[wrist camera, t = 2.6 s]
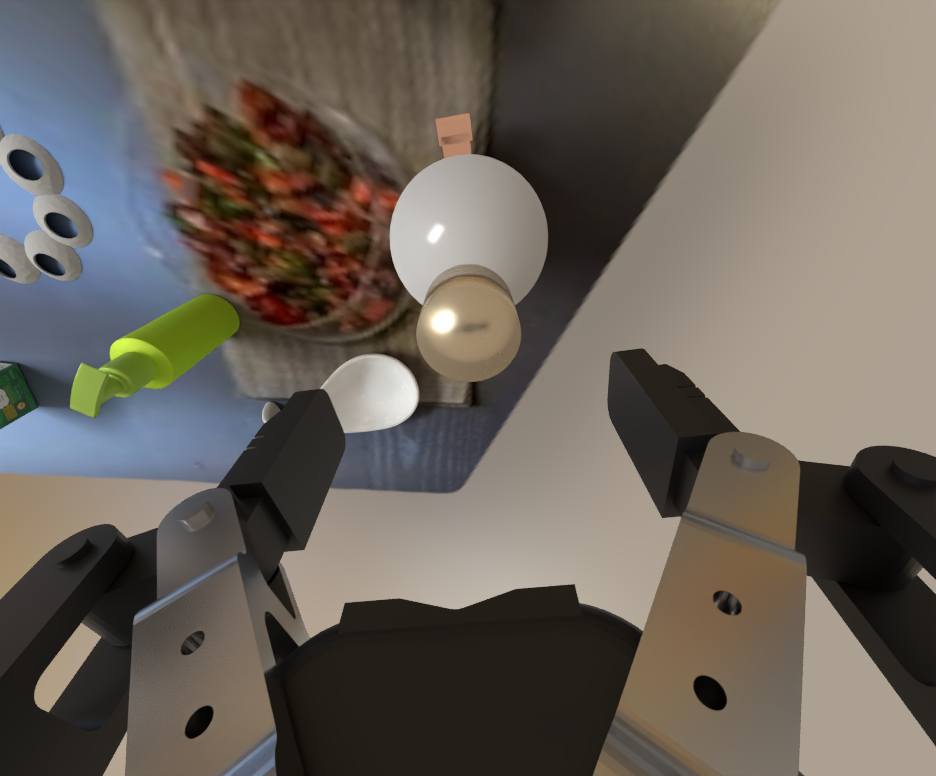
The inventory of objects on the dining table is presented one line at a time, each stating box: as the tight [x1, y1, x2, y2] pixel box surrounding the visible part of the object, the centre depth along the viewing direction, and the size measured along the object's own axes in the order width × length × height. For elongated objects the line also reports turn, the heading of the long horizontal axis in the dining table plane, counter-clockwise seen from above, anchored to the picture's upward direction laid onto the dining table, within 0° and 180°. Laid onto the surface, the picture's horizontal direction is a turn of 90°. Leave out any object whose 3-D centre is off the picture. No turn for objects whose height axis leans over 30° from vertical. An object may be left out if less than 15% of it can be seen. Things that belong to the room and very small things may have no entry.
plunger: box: [416, 264, 521, 382], centre depth 17 cm, size 4×4×7 cm
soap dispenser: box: [70, 294, 240, 418], centre depth 40 cm, size 6×7×20 cm
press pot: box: [390, 113, 548, 305], centre depth 34 cm, size 14×12×17 cm
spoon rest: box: [262, 353, 419, 433], centre depth 52 cm, size 24×12×7 cm, turn 110°
